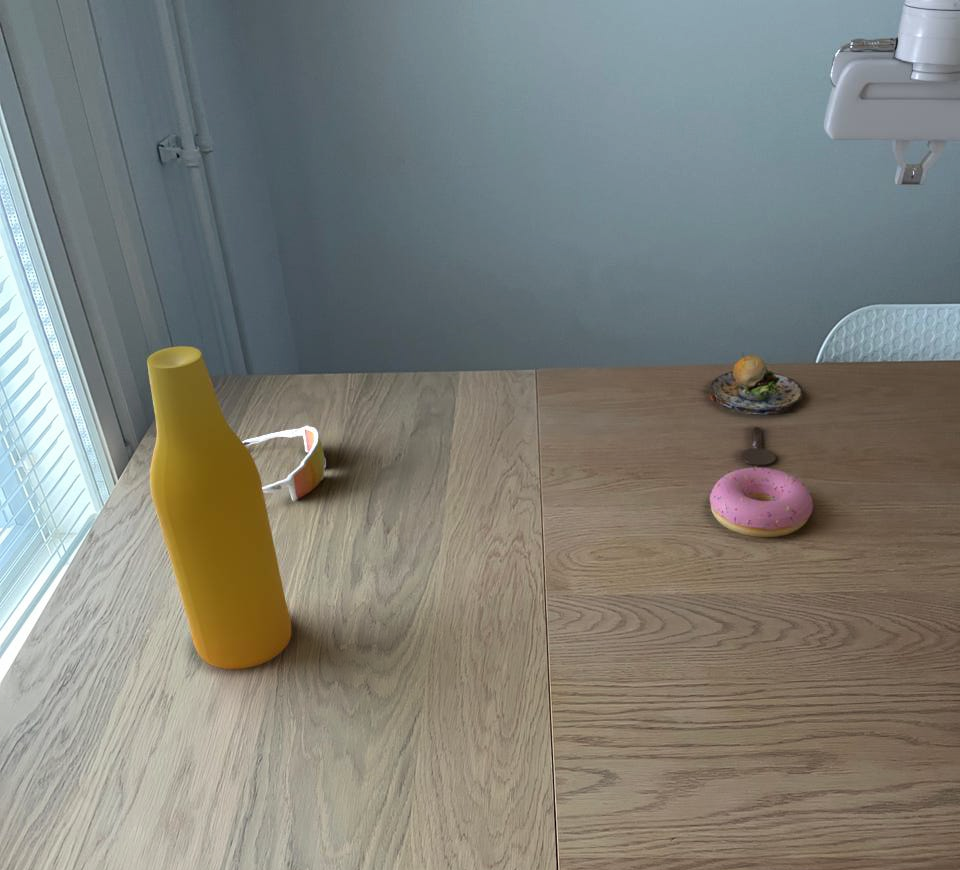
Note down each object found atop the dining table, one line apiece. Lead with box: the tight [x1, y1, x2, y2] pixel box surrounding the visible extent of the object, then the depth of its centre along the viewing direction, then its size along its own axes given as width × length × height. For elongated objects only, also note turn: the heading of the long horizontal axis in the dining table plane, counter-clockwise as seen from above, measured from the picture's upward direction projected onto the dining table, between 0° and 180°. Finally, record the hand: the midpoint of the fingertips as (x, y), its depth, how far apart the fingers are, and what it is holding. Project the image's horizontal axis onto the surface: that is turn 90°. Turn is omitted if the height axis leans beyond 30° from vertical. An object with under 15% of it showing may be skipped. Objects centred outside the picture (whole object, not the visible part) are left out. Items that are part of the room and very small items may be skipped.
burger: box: [709, 348, 804, 416], centre depth 128 cm, size 12×12×8 cm
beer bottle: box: [146, 345, 292, 670], centre depth 85 cm, size 9×9×29 cm
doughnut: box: [709, 466, 814, 538], centre depth 107 cm, size 11×11×4 cm
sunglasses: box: [242, 425, 327, 502], centre depth 118 cm, size 14×15×5 cm
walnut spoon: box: [740, 426, 777, 468], centre depth 119 cm, size 4×10×1 cm, turn 169°
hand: (909, 183), depth 108 cm, fingers closed
